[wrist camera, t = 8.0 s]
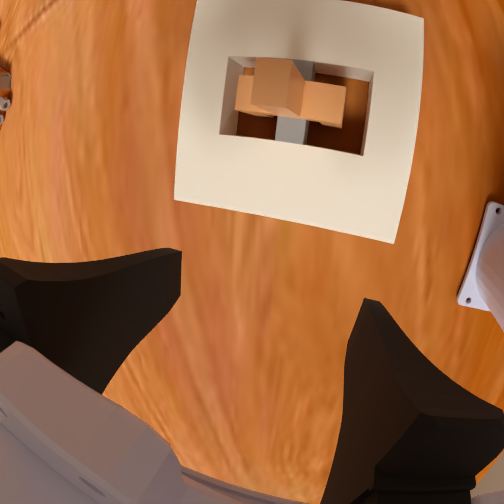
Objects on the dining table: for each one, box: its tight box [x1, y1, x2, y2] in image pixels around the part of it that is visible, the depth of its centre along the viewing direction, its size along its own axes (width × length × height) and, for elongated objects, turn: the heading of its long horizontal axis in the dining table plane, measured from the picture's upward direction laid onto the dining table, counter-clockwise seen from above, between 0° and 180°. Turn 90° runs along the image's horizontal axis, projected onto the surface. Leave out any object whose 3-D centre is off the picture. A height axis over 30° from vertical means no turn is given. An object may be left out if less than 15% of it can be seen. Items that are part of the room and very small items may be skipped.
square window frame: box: [174, 0, 424, 244], centre depth 16 cm, size 14×14×3 cm
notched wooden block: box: [235, 57, 346, 129], centre depth 14 cm, size 6×2×8 cm, turn 83°
